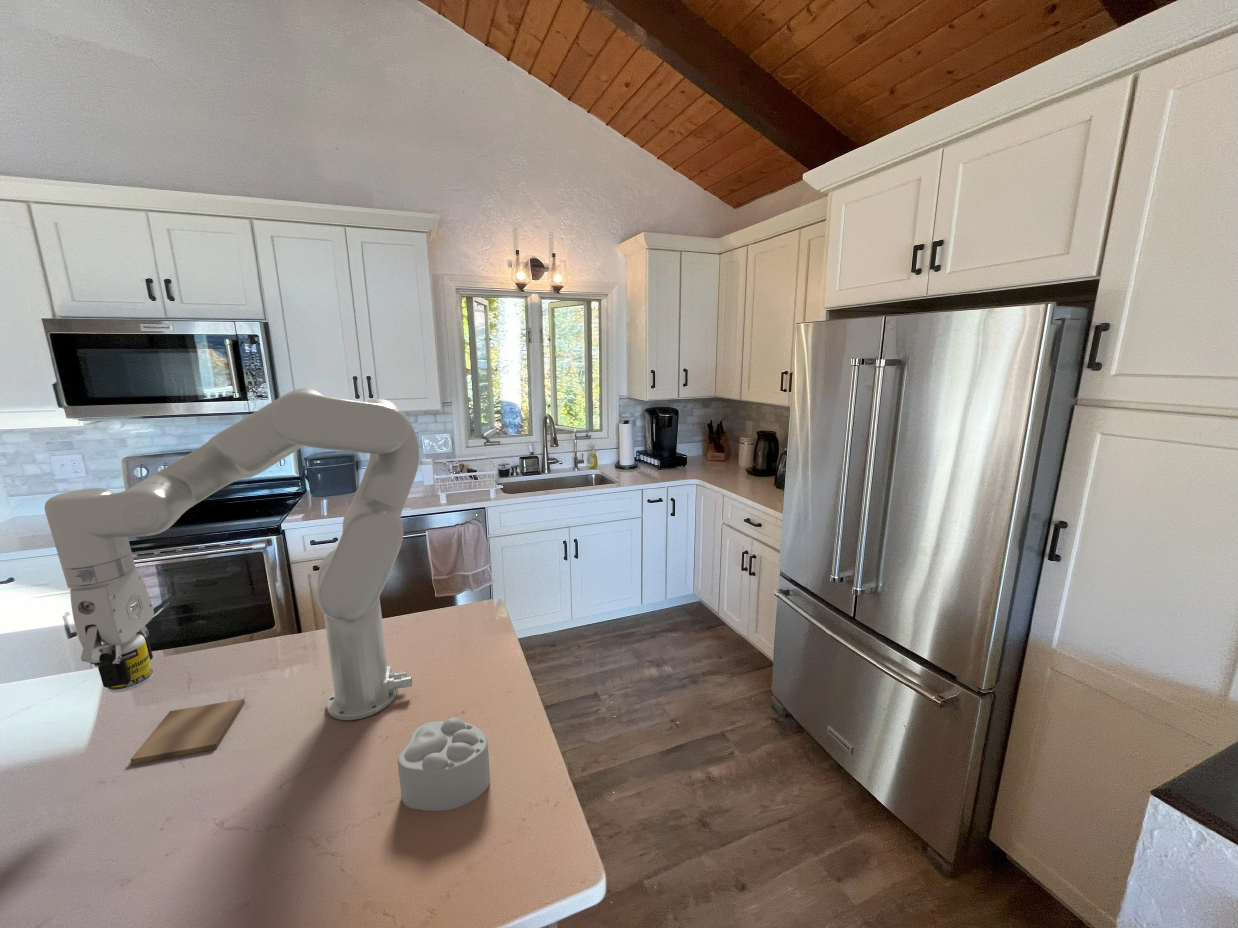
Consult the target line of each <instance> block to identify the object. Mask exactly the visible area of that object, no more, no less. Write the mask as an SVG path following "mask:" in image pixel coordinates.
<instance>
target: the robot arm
mask: <svg viewBox="0 0 1238 928" xmlns="http://www.w3.org/2000/svg"><path fill="white" fill-rule="evenodd" d="M303 447H305V448H306V447H308V448H314V449H320V450H321V449H322V450H328V451H329V450H330V451H342V452H354V453H360V454H361V453H364V454H369V459H368V462H367V466H366V469H365V471H364V473H363V475H362V479H361V482H360V483H359V486H358V487H357V490H356V491H355V492H356V493H355V495H354V497H353V499H352V501H351V502H350V505H349V506H348V508H347V510H346V512H345V514H344V516H343V521H342V532H341V533H342V534H341V536H340V539H339V541H338V544H337V547H336V548H334V549H333V550H331V551H330V552H329V553H328V554H327V555H326V556H325V557H324V559H323V560H322V562H321V564H320V567H319V569H318V573H317V575H318V576H317V587H316V600H317V604H318V607H319V608H320V610H321V612H322V613H323V616H324V624H325V625H324V626H325V633H326V640H327V647H328V648H327V649H328V656H329V663H330V670H331V678H332V683H333V685H332V686H333V691H332V692H331V694H330V695H329V696H328V698H327V701H326V709H327V713H328V715H329V716H330V717H332V718H334V719H337V720H342V721H353V720H354V721H355V720H359V719H364V718H367V717H370V716H372V715H374V714H378V712H381V711H382V710H383V709H386V707H387V706H389V705H390V704H391V703H392V702H393V701H394V700H395V698H396V697H397V695H398V690H399V689H403V688H404V689H405V688H410V687H412V686H413V676H412V675H410V676H408V673H407V671H400V672H394V671H392V666H391V665H388V663H387V655H386V646H385V636H384V626H383V615H382V608H381V598H380V596H381V594H382V591H384V587H385V585H386V583H387V581H388V579H389V576H390V574H391V571H392V569H393V566H394V564H395V562H396V560H397V557H398V555H399V553H400V550H401V547H402V543H403V541H404V526H403V523H402V519H401V518H402V517H401V516H402V513H403V509H404V507H405V504H406V502H407V499H408V498H409V494H410V493H411V492H410V491H411V489H412V486H413V484H414V481H415V479H416V476H417V472H418V468H419V465H420V447H419V441H418V437H417V433H416V432H415V429H414V427H413V425H412V423H411V422H410V420H409V419H408V417H407V416H406V415H405V413H404V412H403V411H402V410H401V409H400V408H399V406H397V405H396V403H394V402H392V401H389V400H387V399H383V398H374V399H371V400H367V401H358V400H351V399H345V398H340V397H339V398H337V397H332V396H327V395H326V396H325V395H324V394H322V393H320V392H319V391H317V390H314V389H311V388H298V389H294V390H291V391H289V392H287V393H285V394H283V395H282V396H280V397H278V398H276V399H275V400H273V401H271V402H270V403H268V404H266V405H264V406H263V407H261V408H259V409H258V410H256V411H254V412H253V413H251V414H249V415H247V416H245V417H244V418H243V419H241V420H239V421H237V422H235V423H234V424H232V425H230V426H228V427H227V428H225V429H223V430H221V431H219V432H218V433H217V434H215V435H214V436H212V437H211V438H210V439H209V440H208V441H206V443H204V444H203V445H201V446H200V447H198V448H196V449H195V450H193V451H192V452H190V453H188V454H186V455H185V456H183V457H181V458H179V459H177V460H176V461H174V462H172V463H171V464H169V465H168V466H166V467H164V468H162V469H161V470H159V471H157V472H155V473H154V474H151V475H150V476H148V477H146V478H145V479H143V480H142V481H140V482H138V483H136V484H135V485H133V486H132V487H130V488H127V489H125V490H123V491H120V492H115V493H114V491H112V490H110V489H109V488H108V489H107V488H99V487H98V488H87V489H86V488H85V489H79V490H72V491H67V492H64V493H60V494H56V495H54V496H52V497H50V498H49V499H47V500H46V501H45V504H44V513H45V515H46V519H47V523H48V525H49V529H50V533H51V536H52V539H53V543H54V546H55V550H56V552H57V556H58V559H59V562H60V566H61V569H62V574H63V575H64V579H65V582H66V586H67V588H68V589H70V590H69V592H70V593H69V594H70V605H71V611H72V617H73V622H74V627H75V631H76V635H77V638H78V641H79V643H80V645H81V647H82V652H81V656H80V660H81V662H85V663H89V664H91V665H93V666H94V668H97V669H98V673H99V675H100V680H101V683H102V686H103V687H104V688H107V689H108V687H113V686H119V685H124V684H128V683H129V682H130V681H131V678H130V674H129V671H128V667H127V664H126V660H125V659H124V660H121V645H123V644H124V643H126V642H127V641H128V640H129V639H131V638H132V637H133V636H134V635H135V634H140V635H142V636H143V637H144V638H145V641H146V645H147V649H148V654H149V657H150V661H151V660H153V658H154V655H153V652H152V648H151V644H150V641H149V637H148V636H149V630H148V628H147V625H148V623H149V622H150V621H151V620H152V619H153V618H154V615H155V611H154V607H153V604H152V600H151V598H150V595H149V592H148V589H147V586H146V584H145V582H144V581H145V580H144V578H143V577H142V575H141V573H140V571H139V569H138V568H137V566H136V563H135V559H134V556H133V553H132V549H131V548H132V547H131V545H130V540H129V538H132V537H133V538H134V537H135V538H137V537H138V538H139V537H148V536H149V537H150V536H155V535H158V534H161V533H163V532H165V531H167V530H169V528H171V527H172V526H174V524H175V523H176V522H177V521H178V520H179V519H181V516H182V515H183V514H184V513H186V511H188V510H189V509H190V508H193V507H194V506H195V505H197V504H198V503H201V501H203V500H205V499H207V498H208V497H210V496H211V495H213V494H215V493H216V492H218V491H220V490H221V489H223V488H225V487H227V486H228V485H230V484H232V483H234V482H237V481H239V480H243V479H249V478H253V477H255V476H257V475H259V474H261V473H263V472H265V471H266V470H268V469H269V468H271V467H272V466H274V465H276V464H277V463H278V462H280V461H283V459H285V458H287V457H288V456H290V455H292V454H293V453H295V452H296V451H298V450H299V449H301V448H303ZM102 641H106V642H107V644H104V643H103V642H102ZM106 648H112V655H111V654H108V653H103V649H106Z"/></svg>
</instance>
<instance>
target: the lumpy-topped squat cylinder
mask: <svg viewBox="0 0 1238 928" xmlns="http://www.w3.org/2000/svg"><path fill="white" fill-rule="evenodd" d="M489 755H490V753H489V741H488V738H487V736H486V734H485V733H484V732H483V731H482V730H481V729H480V728H478V727H477V726H476V725H474V724H472V723H470V722H464V721H463V720H462V719H460V718H459V717H450V718H448V719H446V720H445V721H444V720H443V721H442V720H441V721H439V720H438V721H437V720H436V721H429V722H426V723H424V724H422V725H420V726H418V727H417V728H416V729H415V730H413V731H412V733H411V735H410V738H409V741H408V742H407V744H406V746H405V747H404V748H403V749H402V751H400V753H399V755H398V756H397V766H398V768H397V769H398V776H399V784H400V795H401V801H402V803H403V804H404V805H405V806H406V807H407V808H410V809H413V808H414V809H413V810H419V809H420V811H430V812H432V811H433V812H439V811H445V812H446V811H450V810H453V809H457V808H460V807H463V806H465V805H467V804H469V803H471V802H473V801H474V800H476V799H478V797H480V796H481V795H483V794H484V792H485V791H486V790H487V788H488V787H489V785H490V781H491V773H490V772H491V771H490V758H489V757H490V756H489Z"/></svg>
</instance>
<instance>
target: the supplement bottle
mask: <svg viewBox="0 0 1238 928" xmlns="http://www.w3.org/2000/svg"><path fill="white" fill-rule="evenodd" d="M145 638H146V637H145ZM145 638H144V637H143V636H142V635H140V634H135V635H134V636H133V637H132V638H131V639H129V640H128V641H127V642H126V643H124V644H123V645H121V660H124V659H125V660H126V664H127V667H128V671H129V674H130V678H131V681H130V682H129V683H128V684H124V685H119V686H113V687H108V688H107V690H108V691H109V692H111V693H125V692H128V691H132V690H134V689H137V688H139V687H142V686H143V685H145V684H146V683H147V682H149V681H150V680H151V679H152V678H153V676H154V670H153V667H152V662H151V660H150V657H149V654H148V649H147V645H146V641H145ZM102 644H107V642H106V641H102ZM103 653H108V654H111V655H112V648H106V649H103Z"/></svg>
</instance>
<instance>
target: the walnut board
mask: <svg viewBox="0 0 1238 928" xmlns="http://www.w3.org/2000/svg"><path fill="white" fill-rule="evenodd" d="M245 704H246V702H245V698H241V699H236V700H235V699H234V700H229V701H223V702H217V703H212V704H205V705H197V706H193V707H186V708H181V709H175V710H169V712H168V713H167V714H166V715H165V716H164V718H163V719H161V721H160V723H159V724H158V725H157V726H156V727H155V729H154V730H153V731H152V733H151V734H150V735H149V736H148V737H147V738H146V739H145V741H144V742H143V744H142V745H141V746H140V747H139V748H138V749H137V750H136V752H135V753H134V754H133V755H132V757H131V758H130V759H129V760H130V763H131V764H130V765H137V764H141V763H147V762H152V761H158V760H163V759H169V758H174V757H179V756H180V757H181V756H185V755H189V754H190V755H191V754H195V753H201V752H202V753H203V752H207V751H212V750H216V749H218V748H219V746H220V744H221V743H222V741H223V740H224V738H225V736H226V734H228V731H229V730H230V729H231V726H232V725H233V724H234V721H235V720H236V719H237V717H238V715H239V714H240V712H241V711H242V709H243V708H244V706H245Z"/></svg>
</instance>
